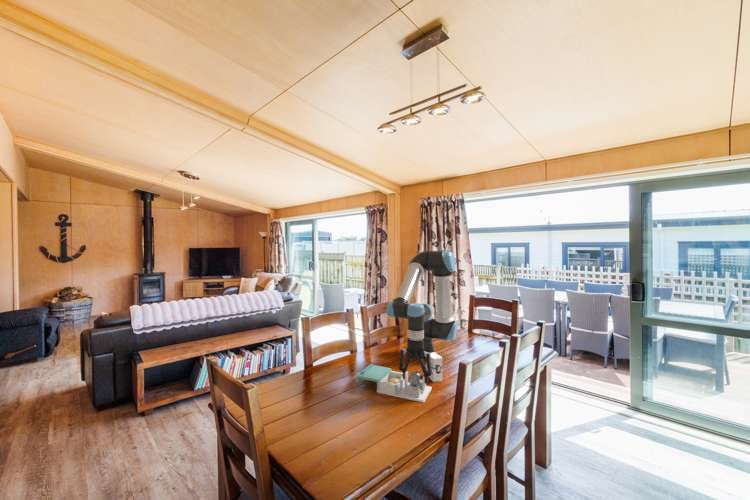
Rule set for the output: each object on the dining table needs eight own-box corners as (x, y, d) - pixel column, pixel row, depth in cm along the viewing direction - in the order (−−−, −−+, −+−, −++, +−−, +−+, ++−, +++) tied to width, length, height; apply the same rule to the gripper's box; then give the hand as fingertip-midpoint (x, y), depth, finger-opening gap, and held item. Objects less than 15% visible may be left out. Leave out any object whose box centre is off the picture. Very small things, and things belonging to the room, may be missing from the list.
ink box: (425, 375, 162) (425, 352, 162) (434, 374, 164) (434, 351, 163) (433, 382, 154) (433, 358, 154) (442, 381, 156) (442, 357, 155)
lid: (369, 370, 161) (370, 362, 161) (391, 374, 156) (391, 365, 156) (356, 381, 147) (356, 372, 147) (379, 386, 143) (379, 377, 142)
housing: (388, 380, 156) (388, 370, 156) (431, 388, 147) (432, 378, 147) (376, 392, 144) (376, 381, 143) (423, 402, 134) (423, 391, 134)
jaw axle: (412, 390, 146) (412, 370, 146) (420, 391, 144) (420, 372, 144) (409, 393, 142) (409, 374, 142) (418, 395, 141) (418, 375, 141)
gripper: (391, 337, 144) (391, 387, 144) (436, 343, 135) (435, 396, 136) (397, 333, 150) (396, 380, 151) (440, 339, 142) (439, 389, 142)
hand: (415, 388), depth 143 cm, fingers open, 8 cm apart
